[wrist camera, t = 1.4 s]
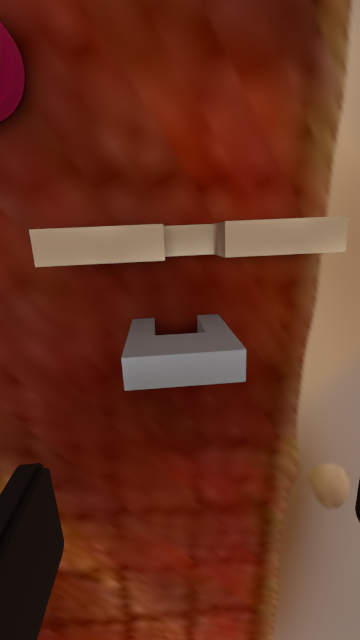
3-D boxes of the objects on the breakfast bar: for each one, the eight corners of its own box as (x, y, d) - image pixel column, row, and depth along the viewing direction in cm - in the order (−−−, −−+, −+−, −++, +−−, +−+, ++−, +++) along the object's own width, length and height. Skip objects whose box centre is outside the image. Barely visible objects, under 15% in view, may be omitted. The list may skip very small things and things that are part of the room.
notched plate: (218, 337, 25) (245, 381, 17) (134, 342, 24) (124, 390, 17) (218, 314, 24) (246, 349, 17) (132, 319, 24) (121, 358, 16)
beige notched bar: (298, 247, 23) (345, 251, 18) (66, 259, 22) (35, 267, 17) (300, 221, 23) (349, 216, 17) (62, 231, 22) (28, 229, 16)
